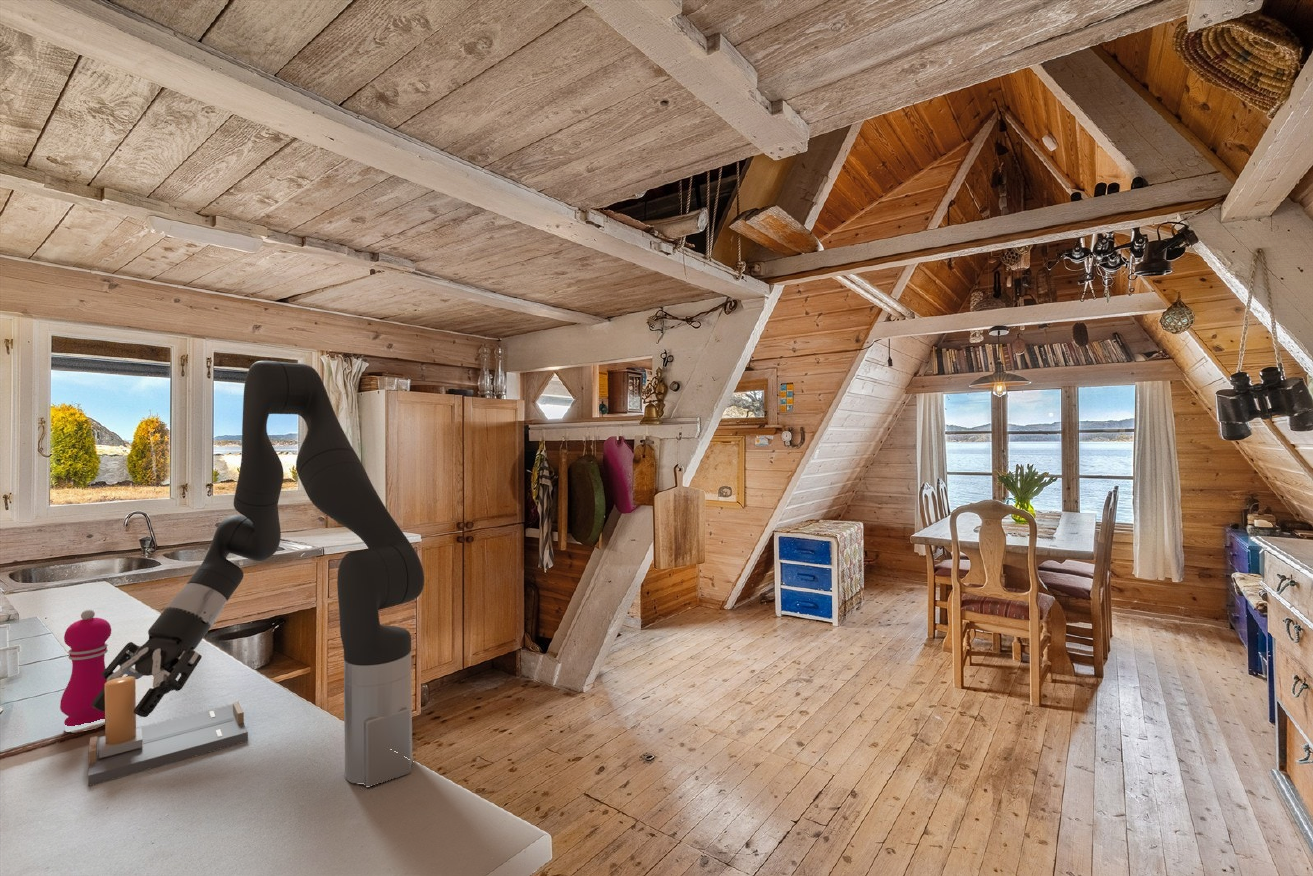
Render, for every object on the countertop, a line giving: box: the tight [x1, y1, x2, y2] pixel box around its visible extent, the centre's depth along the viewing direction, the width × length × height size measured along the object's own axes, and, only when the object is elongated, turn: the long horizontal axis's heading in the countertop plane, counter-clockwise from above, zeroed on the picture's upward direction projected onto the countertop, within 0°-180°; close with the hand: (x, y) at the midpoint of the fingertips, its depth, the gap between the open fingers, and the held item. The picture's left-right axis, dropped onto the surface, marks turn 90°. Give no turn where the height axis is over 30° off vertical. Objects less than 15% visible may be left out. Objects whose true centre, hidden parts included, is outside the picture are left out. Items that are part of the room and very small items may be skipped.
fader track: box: [87, 701, 249, 787], centre depth 100 cm, size 14×19×3 cm
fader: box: [99, 676, 143, 758], centre depth 96 cm, size 5×5×10 cm
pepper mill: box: [59, 609, 112, 726], centre depth 107 cm, size 7×7×20 cm
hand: (118, 712), depth 95 cm, fingers open, 8 cm apart
